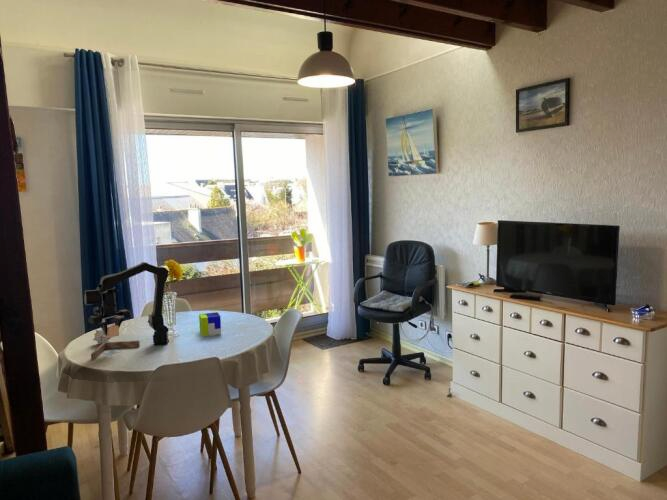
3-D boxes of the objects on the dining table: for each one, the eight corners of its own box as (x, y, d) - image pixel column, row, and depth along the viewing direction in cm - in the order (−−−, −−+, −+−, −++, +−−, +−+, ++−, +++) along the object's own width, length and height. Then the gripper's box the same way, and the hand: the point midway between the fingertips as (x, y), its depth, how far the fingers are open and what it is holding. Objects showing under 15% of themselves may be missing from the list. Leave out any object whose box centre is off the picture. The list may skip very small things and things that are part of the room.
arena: (139, 346, 251) (139, 340, 251) (130, 358, 233) (129, 351, 232) (103, 348, 248) (103, 342, 248) (91, 360, 230) (90, 354, 230)
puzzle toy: (221, 334, 270) (220, 316, 269) (202, 336, 267) (201, 318, 265) (218, 329, 279) (217, 312, 278) (200, 331, 276) (199, 314, 275)
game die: (100, 352, 254) (86, 339, 249) (102, 341, 262) (89, 329, 256) (115, 343, 254) (102, 330, 249) (117, 333, 262) (104, 320, 256)
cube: (113, 333, 244) (112, 323, 244) (119, 335, 241) (118, 325, 241) (103, 336, 240) (103, 326, 240) (109, 338, 237) (108, 327, 237)
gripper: (118, 296, 251) (120, 327, 253) (81, 303, 236) (83, 335, 238) (130, 299, 245) (132, 330, 246) (93, 306, 230) (95, 339, 232)
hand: (111, 333), depth 241 cm, fingers closed on cube, 5 cm apart
